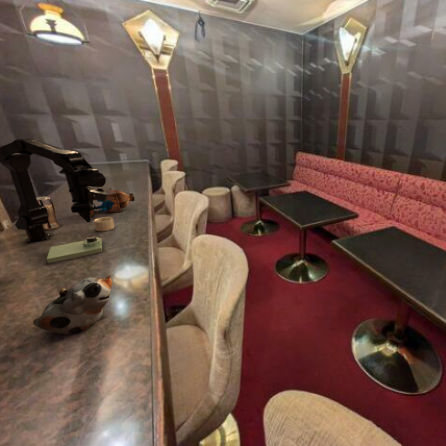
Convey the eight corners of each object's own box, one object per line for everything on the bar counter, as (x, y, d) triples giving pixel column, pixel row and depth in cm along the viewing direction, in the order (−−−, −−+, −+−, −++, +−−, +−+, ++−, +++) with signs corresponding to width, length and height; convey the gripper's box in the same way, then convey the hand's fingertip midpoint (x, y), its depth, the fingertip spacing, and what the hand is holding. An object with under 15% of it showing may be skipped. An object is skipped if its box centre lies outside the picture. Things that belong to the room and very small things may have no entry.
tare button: (87, 243, 101) (86, 239, 100) (87, 240, 103) (86, 237, 102) (96, 241, 102) (95, 238, 102) (96, 239, 104) (95, 235, 104)
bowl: (96, 228, 123) (93, 218, 121) (114, 225, 127) (111, 215, 125) (96, 233, 117) (93, 223, 116) (115, 229, 122) (112, 220, 120)
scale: (48, 263, 91) (45, 255, 90) (52, 251, 100) (49, 243, 99) (103, 251, 101) (101, 244, 100) (102, 241, 110) (100, 234, 108)
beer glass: (49, 230, 118) (38, 200, 112) (37, 229, 119) (26, 199, 114) (64, 225, 124) (55, 197, 119) (53, 224, 125) (43, 195, 120)
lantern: (90, 226, 140) (139, 214, 157) (86, 210, 129) (139, 199, 146) (79, 203, 144) (128, 194, 161) (75, 186, 132) (128, 178, 149)
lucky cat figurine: (71, 302, 72) (89, 260, 72) (112, 317, 74) (130, 275, 73) (18, 328, 57) (40, 275, 57) (71, 346, 59) (93, 294, 58)
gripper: (104, 188, 94) (113, 225, 100) (103, 179, 108) (111, 212, 114) (65, 191, 88) (77, 231, 94) (69, 181, 102) (80, 216, 107)
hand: (88, 222), depth 102 cm, fingers closed
